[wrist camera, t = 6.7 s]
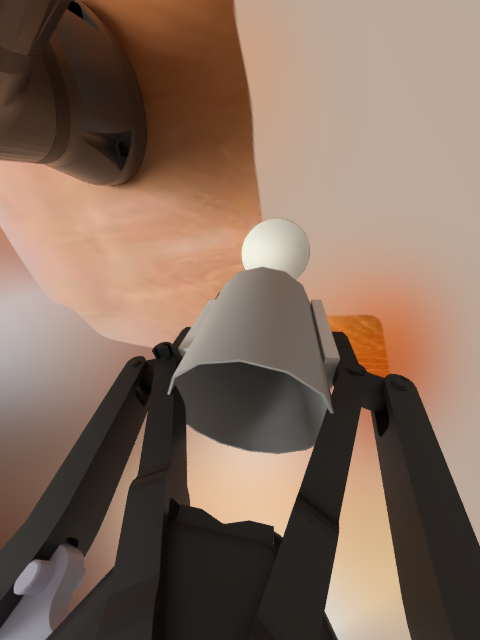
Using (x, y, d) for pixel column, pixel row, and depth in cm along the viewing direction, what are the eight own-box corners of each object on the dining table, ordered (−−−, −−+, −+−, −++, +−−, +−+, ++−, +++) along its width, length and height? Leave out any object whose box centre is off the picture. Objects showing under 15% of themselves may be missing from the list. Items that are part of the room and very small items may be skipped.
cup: (305, 257, 14) (334, 352, 6) (314, 339, 18) (337, 458, 11) (205, 279, 17) (135, 367, 9) (233, 347, 21) (203, 447, 13)
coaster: (238, 222, 27) (237, 222, 27) (312, 214, 25) (313, 214, 25) (245, 286, 33) (245, 287, 32) (306, 284, 30) (307, 285, 30)
